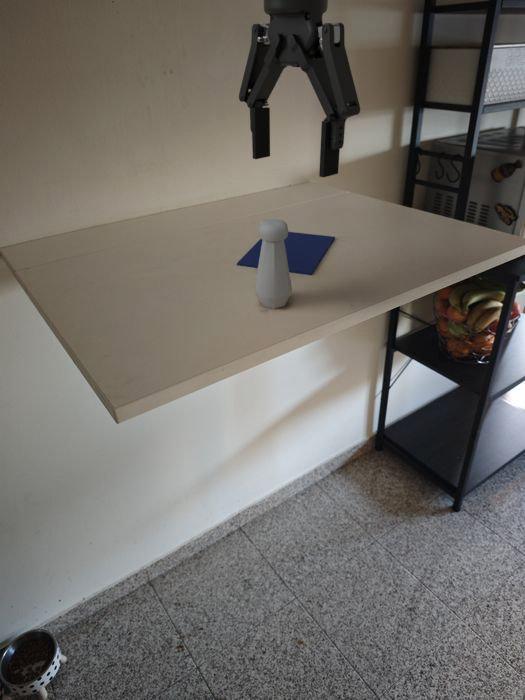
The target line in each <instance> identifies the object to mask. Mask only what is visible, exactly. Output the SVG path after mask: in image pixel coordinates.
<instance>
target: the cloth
mask: <svg viewBox="0 0 525 700" xmlns="http://www.w3.org/2000/svg"><path fill="white" fill-rule="evenodd" d="M335 239H336V236H331V235H323V234H314V233H313V234H312V233H305V232H295V231H293V232H292V231H288V236H287V238H286V239H284V243H285V249H286V255H287V261H288V268H289V273H294V274H302V275H309V276H312V275H313V274H314V272H315V271H316V269H317V268H318V266H319V264H320V263H321V262H322V260H323V258H324V257H325V255H326V253H327V252H328V251H329V248H330V247H331V245H332V244H333V242H334V241H335ZM262 241H263V240H262V239H261V238H259V240H258V241H257V242H256V243H254V245H252V247H251V248H250V249H249V250H248V251H247V252H246V253H245V254H244V255H243V256H242V257H241V258H240V259H239V260H238V261H237V262H236V266H241V267H248V268H256V269H258V264H259V258H260V252H261V247H262Z"/></svg>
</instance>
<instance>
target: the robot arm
mask: <svg viewBox="0 0 525 700" xmlns="http://www.w3.org/2000/svg"><path fill="white" fill-rule="evenodd" d="M328 5H329V0H263V12H264V13H265V14H266V15H268V16H269V23H268V22H267V23H266V22H265V23H253V24H252V25H251V41H250V48H249V52H248V54H247V55H248V56H247V60H246V65H245V68H244V71H243V77H242V80H241V85H240V89H239V92H238V100H239V102H240V103H245V104H246V106H247V107H248V109H249V127H250V128H249V129H250V132H251V140H252V141H251V144H252V145H251V147H252V151H251V152H252V159H253V160H259V159H260V160H261V159H265V158H269V157H271V108H270V107H269V105H270V104H269V102H268V100H269V98H270V97H271V94H272V92H273V90H274V89H275V87H276V85H277V83H278V81H279V79H280V78H281V75H282V73H283V71H284V70H285V69H286V68H287V67H292V68H300V69H301V71H302V72H304V73H305V74H306V76H307V78H308V80H309V82H310V84H311V87H312V89H313V91H314V93H315V95H316V97H317V99H318V101H319V104H320V106H321V109H322V110H323V112H324V114H325V116H326V117H325V118H324V119H323V120H322V121H321V129H320V130H321V131H320V149H319V150H320V152H319V155H320V156H319V171H318V172H319V174H318V175H319V177H320V178H327V177H331V176H335V175H338V174H339V166H340V152H341V151H340V149H343V147H344V144H345V143H344V142H345V128H346V122H347V119H349V118H351V117H354V116H358V115H360V112H361V106H360V101H359V97H358V92H357V90H356V85H355V81H354V78H353V73H352V69H351V65H350V62H349V58H348V53H347V50H346V46H345V45H346V44H345V42H346V41H345V24H344V23H343V22H325V23H324V22H323V15H324V14H325V13H326V12H327V11H328Z"/></svg>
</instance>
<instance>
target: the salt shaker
mask: <svg viewBox="0 0 525 700" xmlns="http://www.w3.org/2000/svg"><path fill="white" fill-rule="evenodd" d="M257 229H258V237H259V239H262V240H263V241H262V247H261V252H260V258H259V264H258V268H257V270H256V277H255V282H254V292H255V295H256V297H257V299H258V301H259V302H260V303H261V305H262V307H263V308H267V309H273V310H275V309H276V310H277V309H279V308H283V307H285V306H286V304H287V302H288V300H289V298H290V297H291V295H292V293H293V286H292V280H291V275H290V272H289V268H288V261H287V255H286V249H285V243H284V239H286V238H287V236H288V232H289V227H288V223H287V222H286V221H284V220H283V219H279V218H268V219H265V220H263V221H262V222H260V223H259V224H258V228H257Z"/></svg>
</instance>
